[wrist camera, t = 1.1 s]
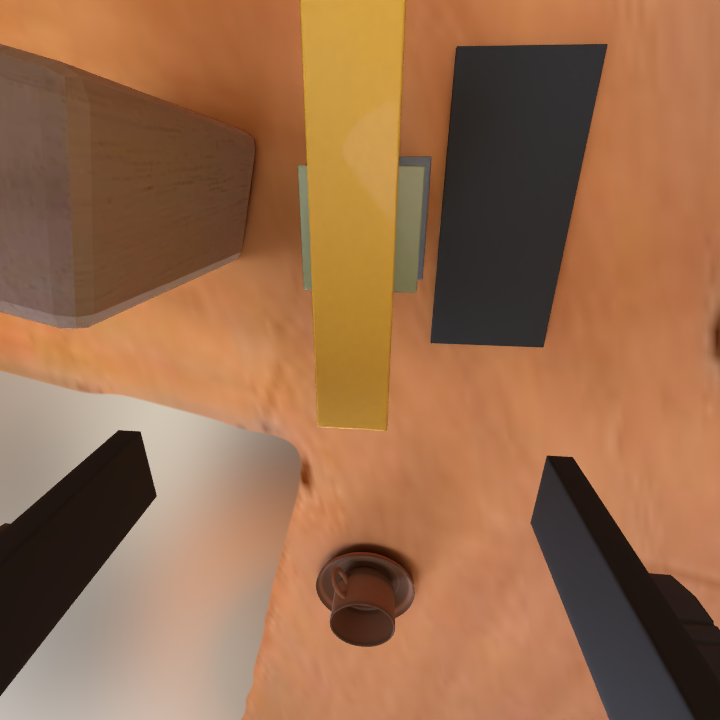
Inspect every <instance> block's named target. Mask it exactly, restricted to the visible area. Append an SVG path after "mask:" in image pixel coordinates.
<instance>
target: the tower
mask: <svg viewBox="0 0 720 720" xmlns="http://www.w3.org/2000/svg"><path fill="white" fill-rule="evenodd" d="M430 170H431V157H399V172H398V195H397V218H396V240H395V263H394V286H393V292H405V293H416V292H417V280H422V279H423V265H424V252H425V238H426V224H427V211H428V197H429V184H430ZM298 178H299V199H300V219H301V240H302V260H303V281H304V289H305V290H312V279H311V255H310V230H309V205H308V180H307V165H298Z"/></svg>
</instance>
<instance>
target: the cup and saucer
mask: <svg viewBox="0 0 720 720" xmlns="http://www.w3.org/2000/svg"><path fill="white" fill-rule="evenodd" d="M316 590H317V594H318V596H319V598H320V600H321V601H322V603H323V604H324V605H325V606H326V607H327V608H328V609H329V610H331V617H330V627H331V630H332V631H333V633H334V634H335V635H336V636H337V637H338V638H339V639H341V640H342V641H344V642H346V643H349V644H351V645H355V646H361V647H372V646H377V645H381V644H383V643H385V642H387V641H388V640H389V639H390V638H391V637H392V636H393V634H394V631H395V618H396V617H398V616H400V615H402V614H403V613H404V612H405V611H407V609H408V608H409V607H410V606H411V604H412V602H413V599H414V593H415V592H414V586H413V582H412V580H411V578H410V576H409V574H408V573H407V572H406V570H405V569H404V568H403V567H402V566H400V565H399V564H398V563H396V562H395V561H393V560H391V559H389V558H387V557H385V556H382V555H379V554H375V553H369V552H353V553H348V554H344V555H341V556H339V557H336V558H334V559H332V560H331V561H329V562H328V563H327V564H326V565H325V566H324V567H323V568H322V570H321V571H320V573H319V575H318V578H317V582H316Z"/></svg>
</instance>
